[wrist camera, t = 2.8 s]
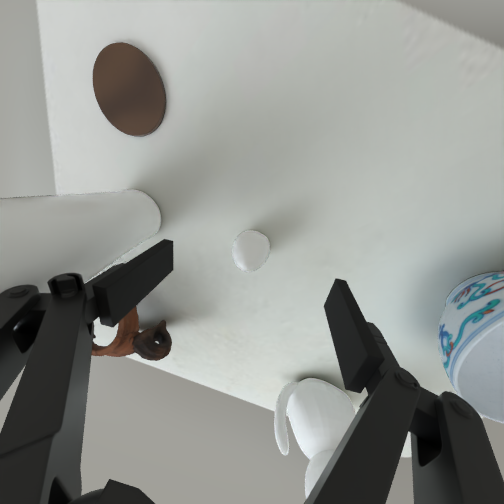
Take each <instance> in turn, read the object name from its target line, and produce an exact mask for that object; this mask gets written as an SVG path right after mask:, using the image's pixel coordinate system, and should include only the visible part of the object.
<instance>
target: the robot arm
mask: <svg viewBox="0 0 504 504" xmlns="http://www.w3.org/2000/svg"><path fill="white" fill-rule="evenodd" d="M172 271H173V241H171V240H166V239H164V240H162V241H160V242H159V243H157V244H156V245H154V246H153V247H151V248H149V249H148V250H146V251H145V252H143V253H142V254H140V255H138V256H137V257H135V258H134V259H132V260H131V261H129V262H127V263H126V264H124V263H122V264H119V265H116V266H113V267H111V268H110V269H108V270H107V271H105V272H103V273H102V274H101V275H98V276H97V277H95V278H93V279H92V280H90V281H88V282H87V283H85V284H84V282H83V278H82V275H80V274H79V273H64V274H60V275H57V276H54V277H53V278H51V279H49V281H48V282H47V283H48V286H49V289H50V292H51V293H40V292H39V290H38V287H37V286H35V285H29V284H27V285H19V286H15V287H12V288H9V289H7V290H5V291H3V292H2V293H0V400H1V399H2V397H3V396H4V395H5V393H6V391H7V390H8V389H9V387H10V386H11V385H12V383H13V382H14V380H15V379H16V377H17V376H18V374H19V373H20V372H21V370H22V369H23V368H24V366H25V365H26V366H25V369H24V371H23V374H22V377H21V380H20V382H19V385H18V387H17V390H16V393H15V396H14V398H13V401H12V404H11V406H10V409H9V412H8V414H7V417H6V420H5V422H4V425H3V428H2V431H1V433H0V504H155V503H154V502H153V501H152V500H151V499H150V498H148V497H147V496H146V495H145V494H144V493H143V492H142V491H141V490H140V489H138V488H136V487H133V486H129V485H126V484H123V483H120V482H117V481H114V480H111V479H109V481H108V482H107V484H106V486H105V488H104V489H99V490H95V491H91V492H89V493H87V494H84V495H82V496H81V491H82V489H81V487H82V485H81V472H80V463H81V453H82V443H83V432H84V423H85V412H86V402H87V393H88V383H89V373H90V363H91V353H92V343H93V333H94V322H93V321H94V320H95V319H97V318H98V317H99V318H100V323H101V324H102V325H106V326H110V327H114V326H115V325H116V324H117V323H118V322H119V321H120V320H122V319H123V318H124V317H125V316H126V315H127V314H128V313H129V312H130V311H131V310H132V309H133V308H134V307H135V306H136V305H137V304H138V303H139V302H140V301H141V300H142V299H143V298H144V297H146V296H147V295H148V294H149V293H150V292H151V291H152V290H153V289H154V288H155V287H156V286H157V285H158V284H159V283H160V282H161V281H162V280H163V279H164V278H165V277H166V276H167V275H168V274H170V273H171V272H172ZM324 308H325V312H326V316H327V320H328V324H329V328H330V332H331V335H332V339H333V343H334V347H335V351H336V355H337V358H338V362H339V366H340V370H341V374H342V378H343V381H344V385H345V389H346V390H350V391H353V392H357V393H361V392H362V390H363V389H364V388H365V387H366V390H367V392H368V396H367V397H366V398H365V400H364V401H363V402H362V404H361V405H360V406H359V407H360V409H359V411H358V412H357V414H356V416H355V417H354V419H353V421H352V422H351V424H350V426H349V428H348V429H347V431H346V433H345V434H344V436H343V438H342V440H341V441H340V443H339V445H338V446H337V448H336V450H335V451H334V453H333V455H332V457H331V458H330V460H329V462H328V463H327V465H326V467H325V469H324V470H323V472H322V474H321V475H320V477H319V479H318V481H317V482H316V484H315V486H314V487H313V489H312V491H311V492H310V494H309V496H308V498H307V499H306V501H305V503H304V504H385V503H386V500H387V497H388V494H389V491H390V488H391V484H392V481H393V478H394V475H395V471H396V469H397V466H398V462H399V459H400V456H401V453H402V450H403V447H404V444H405V440H406V437H407V434H408V431H409V432H411V451H412V470H413V492H414V504H504V481H503V478H502V475H501V473H500V470H499V467H498V464H497V461H496V459H495V456H494V453H493V450H492V447H491V444H490V441H489V438H488V436H487V433H486V430H485V427H484V424H483V421H482V419H481V417H480V416H479V414H478V413H477V411H476V410H475V409H474V408H473V407H472V406H471V405H470V404H469V403H468V402H467V401H465V400H464V399H463V398H461V397H460V396H458V395H456V394H454V393H452V392H447V391H445V392H443V393H442V394H441V395H439V396H438V395H436V394H434V393H432V392H430V391H428V390H426V389H424V388H422V387H420V385H419V383H418V381H417V380H416V379H415V378H414V376H413V375H411V374H410V373H409V372H408V371H406V370H405V369H403V368H401V367H400V366H399V364H398V362H397V361H396V359H395V357H394V355H393V353H392V351H391V350H390V348H389V346H388V345H387V342H386V341H385V339H384V337H383V335H382V333H381V332H380V330H379V329H378V328H377V327H376V326H375V325H374V324H373V323H370V322H366V320H365V318H364V316H363V314H362V312H361V310H360V308H359V306H358V304H357V302H356V300H355V298H354V296H353V294H352V292H351V290H350V288H349V286H348V284H347V282H346V281H345V280H341V279H335V281H334V284H333V286H332V288H331V290H330V293H329V295H328V297H327V300H326V302H325V304H324Z"/></svg>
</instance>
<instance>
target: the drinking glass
mask: <svg viewBox="0 0 504 504" xmlns="http://www.w3.org/2000/svg"><path fill="white" fill-rule="evenodd" d="M160 225H161V214H160V211H159V208H158V206H157V205H156V203H155V202H154V201H153V199H152V198H151V197H149V196H148V195H147V194H145V193H143V192H141V191H138V190H134V189H127V190H121V191H113V192H99V193H83V194H66V195H49V196H31V197H14V198H1V199H0V293H2V292H3V291H5V290H7V289H9V288H12V287H15V286H19V285H27V284H29V285H35V286H37V287H38V290H39V292H40V293H51V292H50V289H49V286H48V283H47V282H48V281H49V279H51V278H53V277H54V276H57V275H60V274H64V273H79V274H80V275H82V278H83V282H84V283H85V282H86V281H88V280H89V279H91V278H92V277H93V276H95V275H96V274H98V273H99V272H100V271H102V270H103V269H105V268H106V267H107V266H109V265H110V264H112V263H113V262H114V261H116V260H117V259H119V258H120V257H121V256H123V255H124V254H126V253H127V252H129V251H130V250H131V249H133V248H134V247H136V246H137V245H139V244H140V243H142V242H143V241H145V240H147V239H148V238H150V237H152V236H153V235H155V234H156V233H157V232H158V230H159V228H160Z"/></svg>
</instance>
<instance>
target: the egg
mask: <svg viewBox="0 0 504 504" xmlns="http://www.w3.org/2000/svg"><path fill="white" fill-rule="evenodd" d="M269 254H270V243H269V240H268V239H267V237H266V236H265V235H263V234H262V233H260V232H257V231H253V230H248V231H244V232H242V233H241V234H240V235H238V236H237V238H236V239H235V241H234V243H233V247H232V256H233V260H234V262H235V264H236V266H237V267H238V268H239V269H240V270H242V271H245V272H252V271H255V270H257V269H258V268H260V267H261V266H262V265H263V264H264V263H265V262H266V260H267V259H268V257H269Z"/></svg>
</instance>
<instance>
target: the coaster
mask: <svg viewBox="0 0 504 504" xmlns="http://www.w3.org/2000/svg"><path fill="white" fill-rule="evenodd" d="M93 87H94V92H95V96H96V99H97V102H98V104H99V107H100V109H101V110H102V112H103V114H104V115H105V117H106V118H107V119H108V121H109V122H110V123H111V124H112V125H113V126H114V127H116V128H117V129H118V130H120V131H121V132H123V133H125V134H128V135H132V136H145V135H148V134H150V133H152V132H153V131H155V130H156V129H157V128H158V126H159V125H160V123H161V121H162V119H163V116H164V113H165V106H166V97H165V90H164V85H163V82H162V79H161V77H160V74H159V72H158V70H157V69H156V67H155V65H154V64H153V62H152V61H151V60H150V59H149V58H148V57H147V56H146V55H145V54H144V53H143V52H142V51H140V50H139V49H138V48H136V47H134V46H132V45H130V44H127V43H113V44H110V45H108V46H106V47H105V48H104V49H103V50H102V51H101V52H100V53H99V55H98V57H97V59H96V61H95V64H94V69H93Z"/></svg>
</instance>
